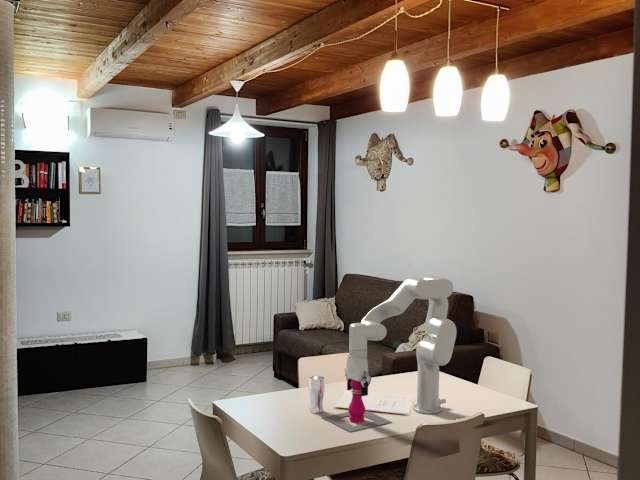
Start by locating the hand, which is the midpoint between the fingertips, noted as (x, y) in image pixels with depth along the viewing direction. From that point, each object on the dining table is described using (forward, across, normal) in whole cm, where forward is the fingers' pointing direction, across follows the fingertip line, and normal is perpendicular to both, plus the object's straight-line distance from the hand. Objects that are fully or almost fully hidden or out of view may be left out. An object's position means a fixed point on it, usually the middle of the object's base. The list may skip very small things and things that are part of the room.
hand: (357, 392), depth 271 cm
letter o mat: (+12, 0, 0) cm, 12 cm away
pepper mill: (+12, 0, 0) cm, 12 cm away
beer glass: (+12, -19, -8) cm, 24 cm away
